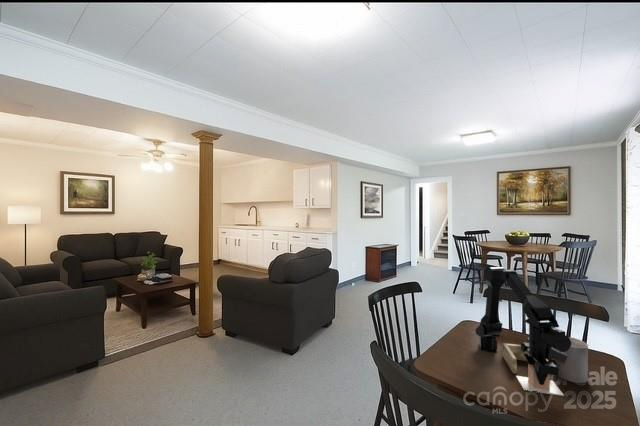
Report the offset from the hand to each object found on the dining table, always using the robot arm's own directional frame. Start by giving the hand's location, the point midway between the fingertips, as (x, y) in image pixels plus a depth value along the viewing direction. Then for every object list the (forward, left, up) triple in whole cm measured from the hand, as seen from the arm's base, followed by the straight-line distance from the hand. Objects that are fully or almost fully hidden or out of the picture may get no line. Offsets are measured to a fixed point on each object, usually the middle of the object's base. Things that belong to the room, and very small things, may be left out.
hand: (538, 380), depth 110 cm
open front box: (0, +13, -2) cm, 13 cm away
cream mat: (0, 0, -2) cm, 2 cm away
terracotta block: (0, 0, -2) cm, 2 cm away
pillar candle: (+15, +11, -2) cm, 18 cm away
